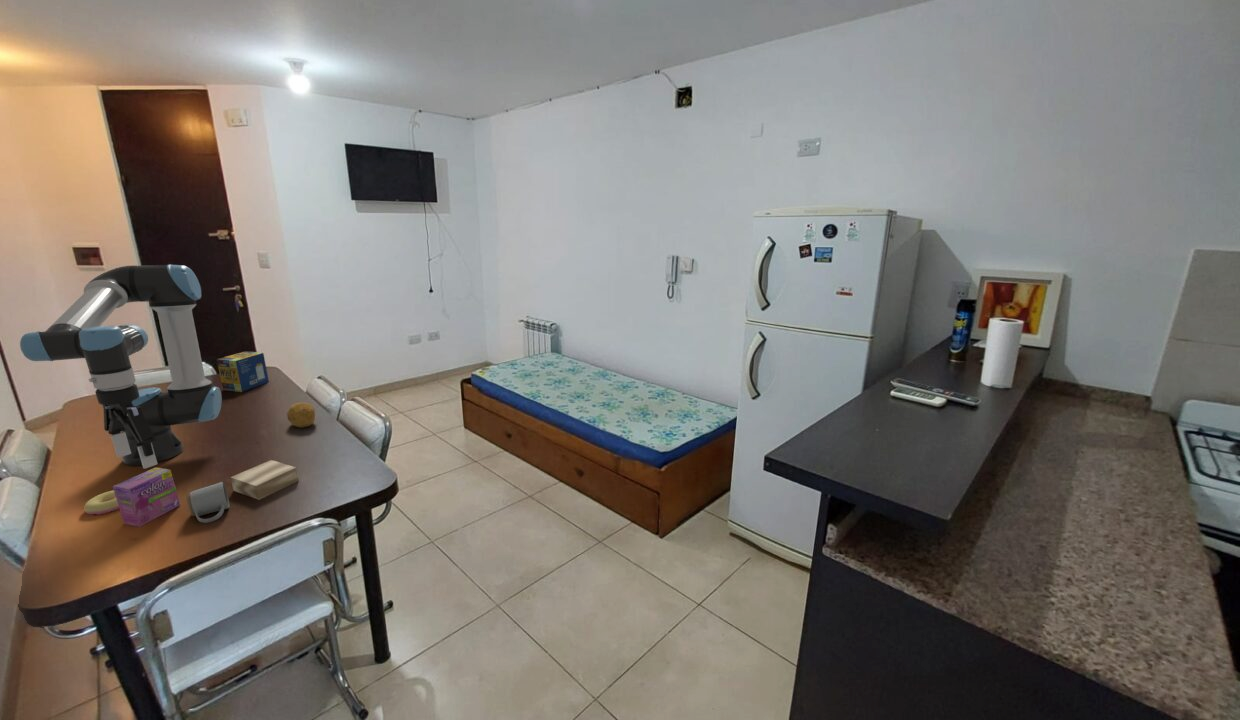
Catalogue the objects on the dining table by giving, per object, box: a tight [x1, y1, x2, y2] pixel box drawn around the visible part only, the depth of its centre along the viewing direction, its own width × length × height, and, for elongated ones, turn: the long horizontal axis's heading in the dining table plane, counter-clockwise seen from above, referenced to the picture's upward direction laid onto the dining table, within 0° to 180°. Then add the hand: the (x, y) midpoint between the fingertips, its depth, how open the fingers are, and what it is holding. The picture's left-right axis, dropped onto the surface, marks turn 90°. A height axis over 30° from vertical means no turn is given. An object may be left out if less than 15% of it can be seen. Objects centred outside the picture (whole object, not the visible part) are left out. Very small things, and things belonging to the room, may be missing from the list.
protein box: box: [216, 350, 270, 393], centre depth 232 cm, size 10×15×16 cm
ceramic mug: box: [186, 481, 230, 524], centre depth 134 cm, size 11×8×8 cm
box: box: [112, 466, 181, 527], centre depth 132 cm, size 10×6×12 cm, turn 168°
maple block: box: [230, 459, 300, 501], centre depth 149 cm, size 12×12×5 cm
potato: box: [286, 402, 316, 429], centre depth 191 cm, size 10×13×9 cm
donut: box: [83, 489, 120, 515], centre depth 137 cm, size 10×5×9 cm
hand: (137, 460), depth 129 cm, fingers open, 13 cm apart
